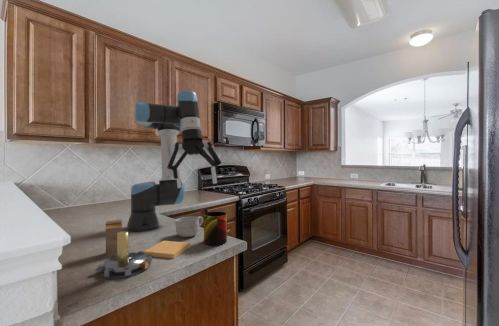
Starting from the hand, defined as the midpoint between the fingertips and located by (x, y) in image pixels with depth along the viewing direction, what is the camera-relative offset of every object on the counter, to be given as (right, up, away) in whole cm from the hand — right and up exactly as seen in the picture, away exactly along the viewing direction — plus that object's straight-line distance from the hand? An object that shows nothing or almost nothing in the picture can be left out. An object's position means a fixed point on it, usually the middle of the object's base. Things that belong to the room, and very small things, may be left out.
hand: (197, 185), depth 88 cm
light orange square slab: (-12, -25, +2) cm, 28 cm away
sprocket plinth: (-20, -25, -12) cm, 35 cm away
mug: (+4, -25, +14) cm, 29 cm away
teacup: (-8, -25, +22) cm, 34 cm away
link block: (-31, -25, -1) cm, 40 cm away
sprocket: (-20, -25, -12) cm, 35 cm away
